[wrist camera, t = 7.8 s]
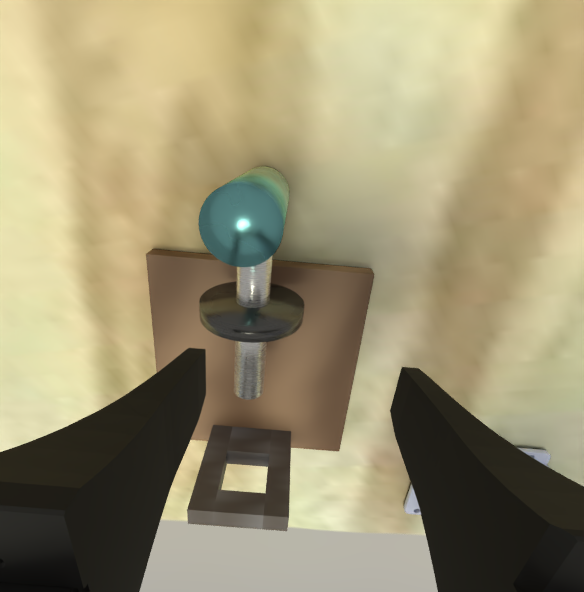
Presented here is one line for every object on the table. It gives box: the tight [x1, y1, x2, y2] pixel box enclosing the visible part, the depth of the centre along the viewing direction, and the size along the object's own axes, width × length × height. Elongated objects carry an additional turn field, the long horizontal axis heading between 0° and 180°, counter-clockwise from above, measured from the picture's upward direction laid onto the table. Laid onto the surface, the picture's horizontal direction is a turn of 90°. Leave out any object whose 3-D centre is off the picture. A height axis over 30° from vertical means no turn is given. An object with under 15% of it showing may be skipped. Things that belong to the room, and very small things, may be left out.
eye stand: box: [146, 249, 374, 531], centre depth 20 cm, size 13×14×7 cm
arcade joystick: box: [199, 166, 304, 400], centre depth 16 cm, size 5×11×8 cm, turn 175°
